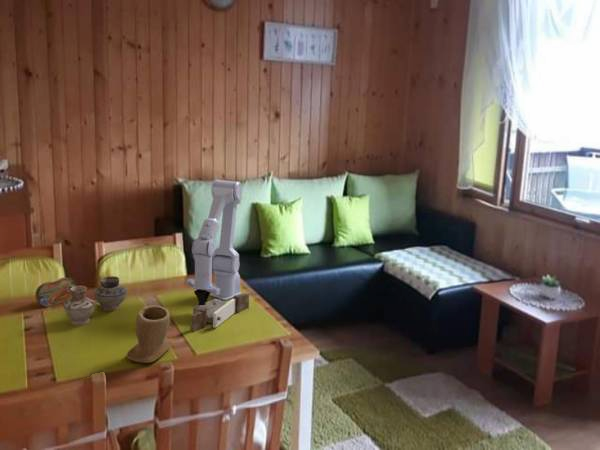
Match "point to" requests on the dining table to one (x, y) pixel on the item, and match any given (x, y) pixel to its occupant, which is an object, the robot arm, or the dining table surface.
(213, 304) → the stone
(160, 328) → the stone cup
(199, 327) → the wooden plank
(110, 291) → the pottery
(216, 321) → the door
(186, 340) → the dining table surface
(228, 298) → the robot arm
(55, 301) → the tin
